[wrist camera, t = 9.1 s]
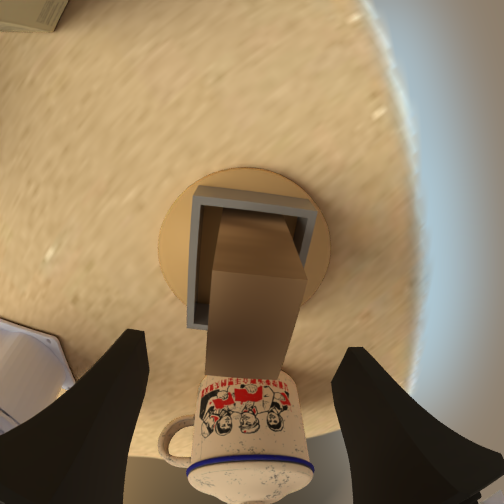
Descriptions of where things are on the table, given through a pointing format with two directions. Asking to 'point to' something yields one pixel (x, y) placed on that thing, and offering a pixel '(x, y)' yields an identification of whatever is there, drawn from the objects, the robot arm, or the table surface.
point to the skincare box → (30, 15)
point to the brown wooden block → (253, 295)
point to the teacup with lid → (244, 440)
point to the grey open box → (208, 223)
